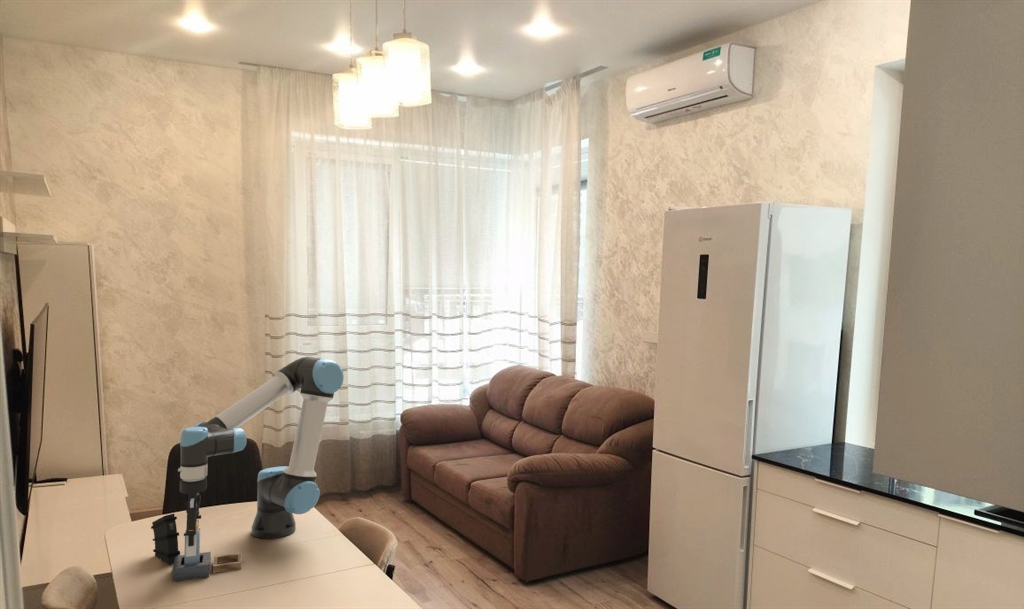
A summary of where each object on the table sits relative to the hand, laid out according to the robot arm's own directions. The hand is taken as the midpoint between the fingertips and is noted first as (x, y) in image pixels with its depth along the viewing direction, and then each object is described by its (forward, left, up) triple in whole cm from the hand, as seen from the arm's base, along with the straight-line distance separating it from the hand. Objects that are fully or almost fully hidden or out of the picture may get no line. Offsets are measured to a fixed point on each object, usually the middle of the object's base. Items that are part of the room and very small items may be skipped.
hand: (192, 548), depth 197 cm
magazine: (+9, -15, -8) cm, 19 cm away
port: (0, 0, -8) cm, 8 cm away
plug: (0, 0, -8) cm, 8 cm away
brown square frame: (-10, -2, -8) cm, 13 cm away
